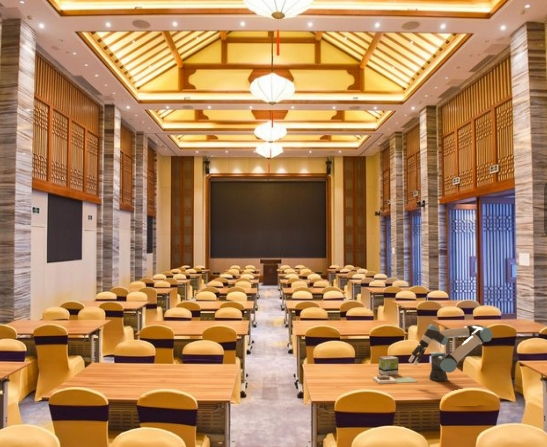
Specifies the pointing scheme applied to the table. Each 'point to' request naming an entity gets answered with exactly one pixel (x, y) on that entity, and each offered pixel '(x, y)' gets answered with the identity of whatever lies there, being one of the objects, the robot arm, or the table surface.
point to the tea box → (388, 365)
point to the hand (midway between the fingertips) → (412, 363)
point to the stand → (385, 380)
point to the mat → (405, 379)
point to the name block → (383, 377)
